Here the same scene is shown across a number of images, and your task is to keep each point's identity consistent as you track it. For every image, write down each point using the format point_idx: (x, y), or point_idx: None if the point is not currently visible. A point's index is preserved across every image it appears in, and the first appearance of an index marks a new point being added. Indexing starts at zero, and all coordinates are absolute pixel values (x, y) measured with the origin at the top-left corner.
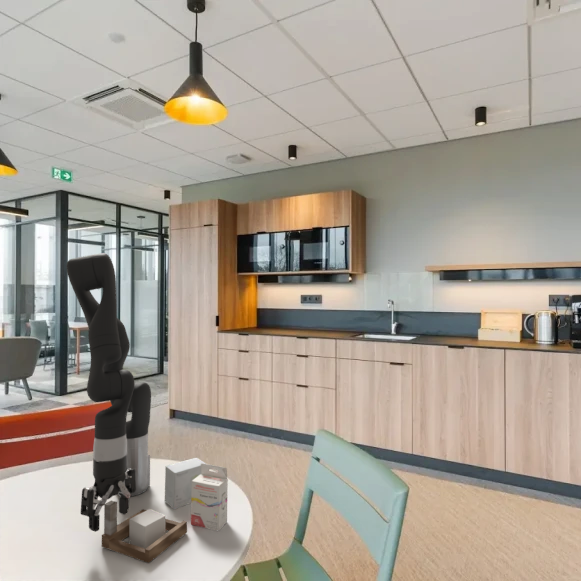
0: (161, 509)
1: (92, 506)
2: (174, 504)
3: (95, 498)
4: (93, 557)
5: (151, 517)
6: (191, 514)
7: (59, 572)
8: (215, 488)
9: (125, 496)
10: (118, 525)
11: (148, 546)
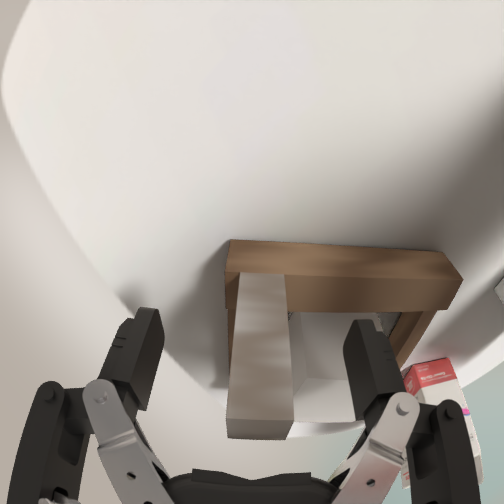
0: (498, 258)
1: (81, 460)
2: (500, 299)
3: (129, 472)
4: (174, 251)
5: (336, 410)
6: (419, 389)
7: (70, 214)
8: (404, 481)
9: (356, 440)
10: (326, 281)
11: None
